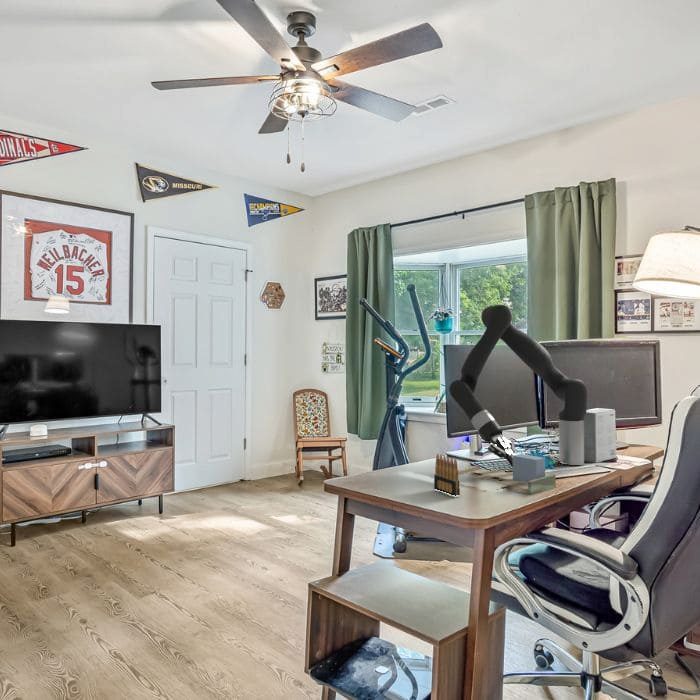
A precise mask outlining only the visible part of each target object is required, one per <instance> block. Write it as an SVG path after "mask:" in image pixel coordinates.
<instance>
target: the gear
mask: <svg viewBox="0 0 700 700" xmlns="http://www.w3.org/2000/svg"><path fill="white" fill-rule="evenodd" d="M539 453H540V450H539V449H536V450H531V451H530V452H529V453H528V454H527V455H531V456H537V457H543V458H545V470H550V471H551V470H553V469H554V468H555V466H554V465H555V464H556V462H557V460H556V459H553V460H551V458H552V457H551V455H549V454H548V455H546V452H545V451H544V450H542V452H541V453H540V454H539Z"/></svg>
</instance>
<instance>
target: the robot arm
mask: <svg viewBox="0 0 700 700" xmlns="http://www.w3.org/2000/svg"><path fill="white" fill-rule="evenodd" d="M480 317H481V322H482V325H484V327H485V328H486V329H485V330H484V332H483V335H482V336H481V338H479V340H478V341H477V342H476V344H475V345H474V346H473V347H472V349H471V351H470V352H469V353H468V355H467V357H466V359H465V361H464V363H463V364H462V367H461V369H460V372H461V373H460V374H461V377H460V379H457V380H454V381H452V382H451V383H450V385H449V388H448V391H449V394H450V396H451V398H453V400H454V401H455V402H456V403H457V404H458V406H459V407H460V408H461V409H462V411H463V412H464V413H465V415H466V416H467V418H468V419H469V421H470V422H471V423H472V425H473V428H474V429H475V430H476V431H477V433H478V434H479V435H480V437H481V439H483V441H484V442H486V443H488V445H489V446H488V447H487V450H488V451H489V452H491V453H492V454H494V455H496V456H497V457H499V458H500V459H505V460H507V462H508V463H509V465H510V466H511V467H512V468H513V456H514V454H515V453H516V448H515V441H514V440H513V439H511V440H510V439H509V440H508V438H507V437H506V436H505V435H504V434H503V432H504V430H503V428H502V426H501V425H500V424H499V423H498V421H497V420H496V418H494V416H493V415H492V414H491V413H490V412H489V411H488V409H487V408H486V407H485V405H483V403H482V402H481V401H480V400H479V399H478V398H477V397H476V396H475V395H474V394H475V392H476V388H477V385H478V384H477V383H478V379H479V377H480V375H481V373H482V371H483V369H484V368H485V365H486V363H487V361H488V360H489V357H490V355H491V353H492V351H493V350H494V348H496V345H497V343H498V342H499V341H500V340H502V342H503V343H505V344H506V345H507V347H508V348H510V350H511V351H512V352H513V353H514V354H515V355H516V356H517V357H518V358H519V359H520V360H521V361H522V362H523V363H524V364H525V365H526V366H527V367H528V368H529V369H530V370H532V371H533V372H534V373H535V374H536V376H538V377H539V378H540V379H541V380H542V381H544V383H545V384H546V385H547V386H548V388H549V389H550V390H551V391H552V392H553V394H554V395H555V396H556V397H557V398H558V399H559V400H560V401H562V402H564V408H563V410H561V411H560V412H559V413H558V450H559V451H558V462H559V461H561V462H563V463H567V464H570V465H581V466H585V461H584V416H585V414H586V410H588V409H587V406H588V387H587V386H586V384H585V382H584V381H583V380H581V379H577V378H569V377H568V376H566V375H564V373H563V372H561V371H560V370H559V369H558V368H557V367H556V365H555V363H554V362H553V359H552V356H551V355H550V352H549V351H547V349H546V348H545V347H544V346H543V345H542V344H541V343H540V341H539V342H538V341H537V339H535V338H533V337H532V336H530V335H529V334H528V333H525V332H524V331H522V330H520V329H518V328H517V327H516V326H515V325H514V324H512V321H513V312H512V310H511V308H510V307H509V306H507V305H505V304H495V305H490V306H488V307H485V308H484V309H483V310H482V312H481V316H480Z"/></svg>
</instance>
